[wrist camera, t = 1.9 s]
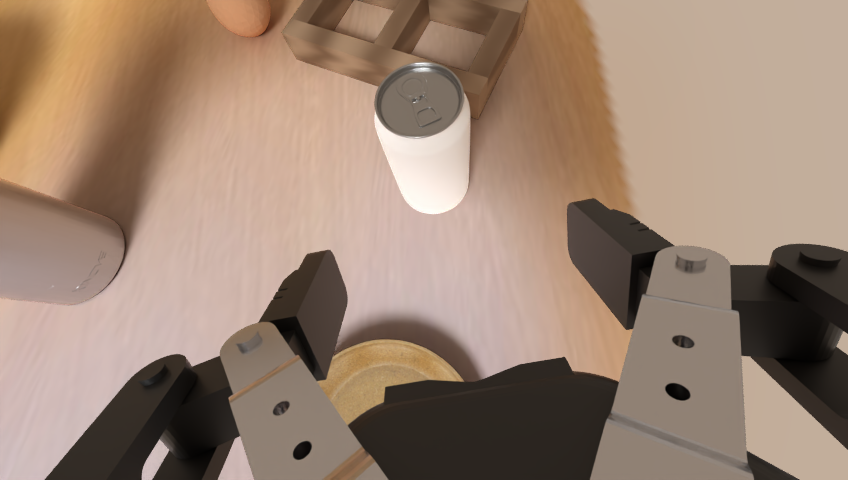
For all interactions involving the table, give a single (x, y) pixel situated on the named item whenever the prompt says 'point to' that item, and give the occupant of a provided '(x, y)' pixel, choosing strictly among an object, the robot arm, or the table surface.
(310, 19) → the rack
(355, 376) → the plant saucer
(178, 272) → the table surface
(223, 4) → the egg
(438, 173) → the can
